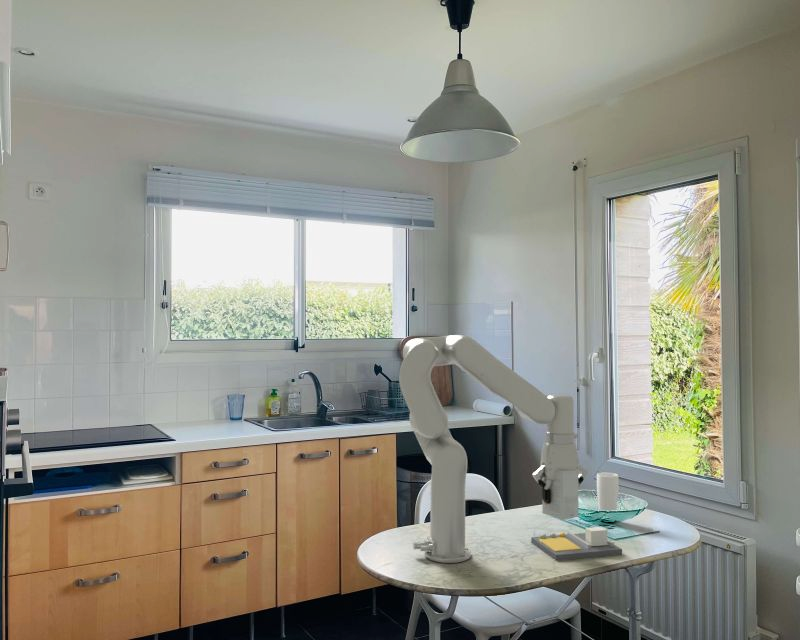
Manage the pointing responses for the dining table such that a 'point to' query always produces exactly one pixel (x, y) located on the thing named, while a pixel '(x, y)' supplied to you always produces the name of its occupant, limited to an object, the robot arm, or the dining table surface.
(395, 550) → the dining table surface
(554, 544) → the plate
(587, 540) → the lever
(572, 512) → the small box
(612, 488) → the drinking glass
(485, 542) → the dining table surface
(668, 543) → the dining table surface
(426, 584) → the dining table surface
